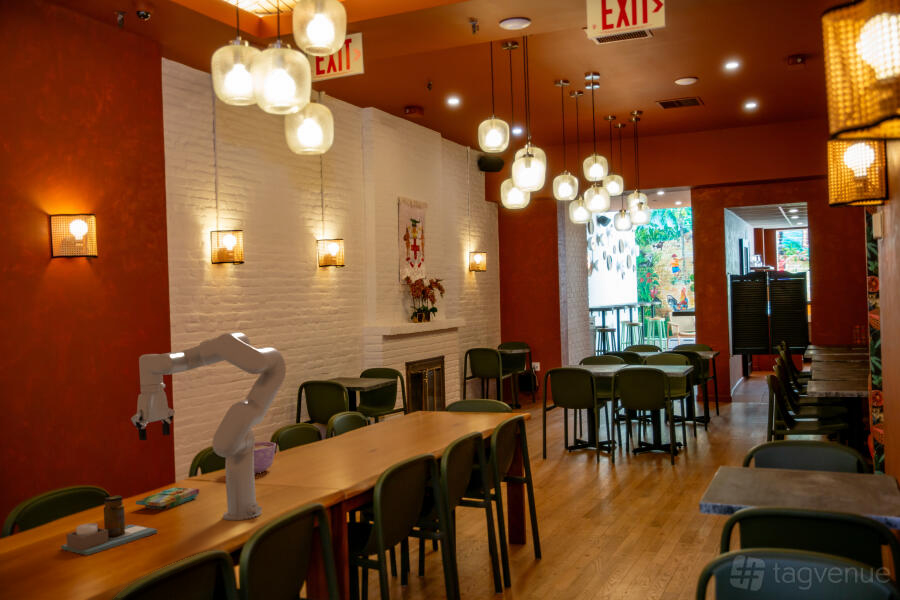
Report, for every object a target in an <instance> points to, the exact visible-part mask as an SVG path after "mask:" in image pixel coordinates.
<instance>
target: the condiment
mask: <svg viewBox="0 0 900 600" xmlns="http://www.w3.org/2000/svg"><path fill="white" fill-rule="evenodd" d="M125 511H126V510H125V505H124V503H123V496H122V495H111V496H106V497H105V498H104V506H103V523H104V527H103V529H106V530H108V539H116V538H120V537H124V536H128V535H131V534H132V533H129V532H126V531H125V526H126V516H125Z"/></svg>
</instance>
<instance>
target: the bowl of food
mask: <svg viewBox="0 0 900 600" xmlns="http://www.w3.org/2000/svg"><path fill="white" fill-rule="evenodd" d="M276 447H277V443H275V442H271V441H270V442H269V441H255V446H254V475H257V474H256V473H260V472H263V471H266V470H268V469H269V468H270V467H271V466H272V465H273V462H274V459H275V458H274V457H275V453H276ZM263 473H264V472H263ZM260 474H261V473H260Z"/></svg>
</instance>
